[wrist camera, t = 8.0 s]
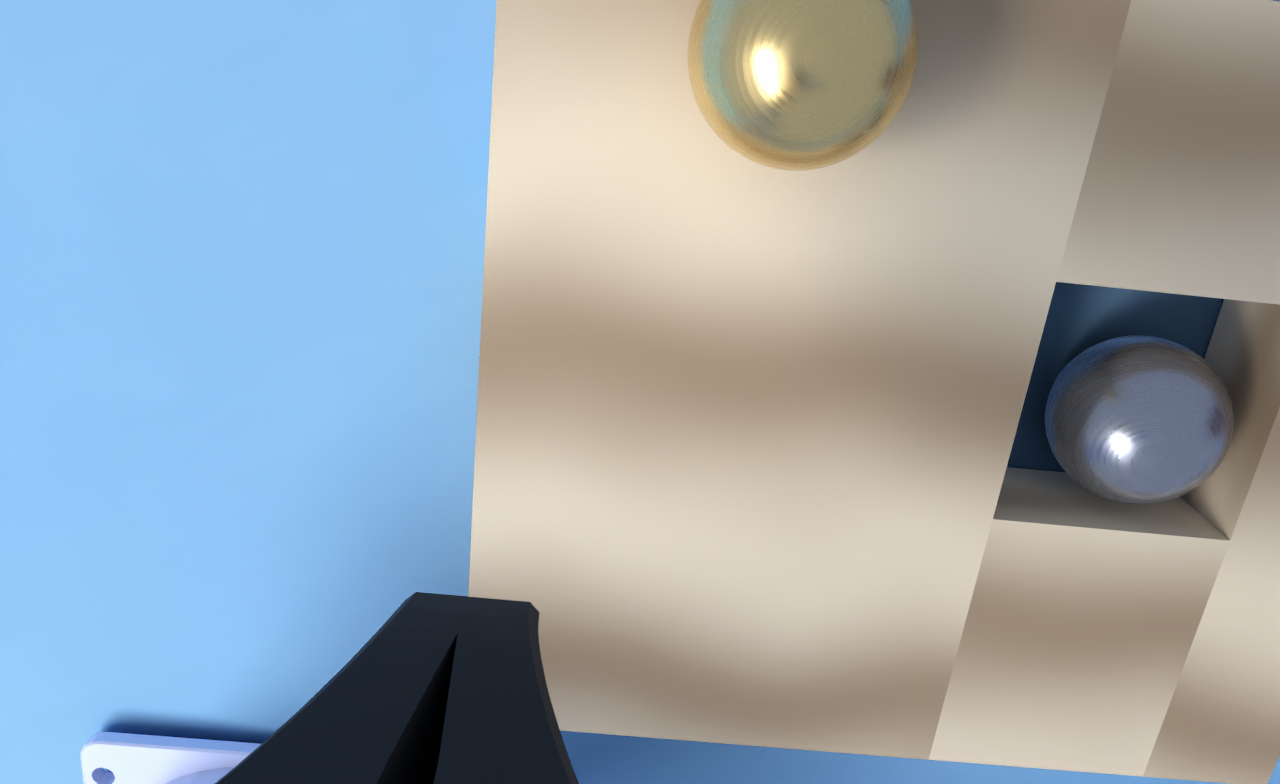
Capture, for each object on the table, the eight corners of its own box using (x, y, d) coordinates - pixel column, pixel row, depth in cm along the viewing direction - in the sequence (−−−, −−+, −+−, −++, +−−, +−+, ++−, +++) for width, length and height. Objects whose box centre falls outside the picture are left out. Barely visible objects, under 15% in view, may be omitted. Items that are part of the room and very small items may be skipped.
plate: (1202, 707, 23) (1266, 786, 21) (480, 648, 22) (462, 723, 20) (1461, 34, 18) (1588, 37, 15) (518, -76, 17) (501, -90, 14)
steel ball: (1160, 463, 21) (1198, 560, 18) (1011, 419, 21) (1026, 507, 18) (1240, 334, 19) (1296, 419, 16) (1076, 288, 19) (1104, 364, 16)
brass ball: (865, 164, 16) (919, 199, 13) (670, 143, 16) (680, 174, 13) (906, -50, 15) (975, -66, 12) (695, -75, 15) (711, -98, 12)
